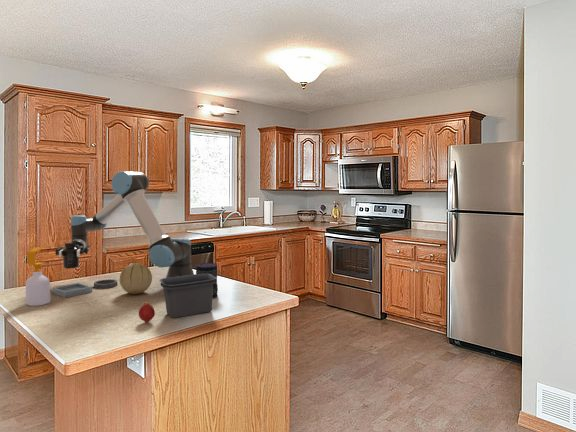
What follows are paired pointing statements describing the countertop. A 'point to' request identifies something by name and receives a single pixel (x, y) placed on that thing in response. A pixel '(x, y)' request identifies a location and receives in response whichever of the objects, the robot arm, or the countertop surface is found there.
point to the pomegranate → (146, 312)
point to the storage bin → (188, 294)
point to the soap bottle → (37, 283)
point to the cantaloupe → (135, 278)
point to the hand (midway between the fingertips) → (68, 254)
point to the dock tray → (71, 290)
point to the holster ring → (105, 283)
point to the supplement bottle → (70, 255)
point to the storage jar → (209, 269)
